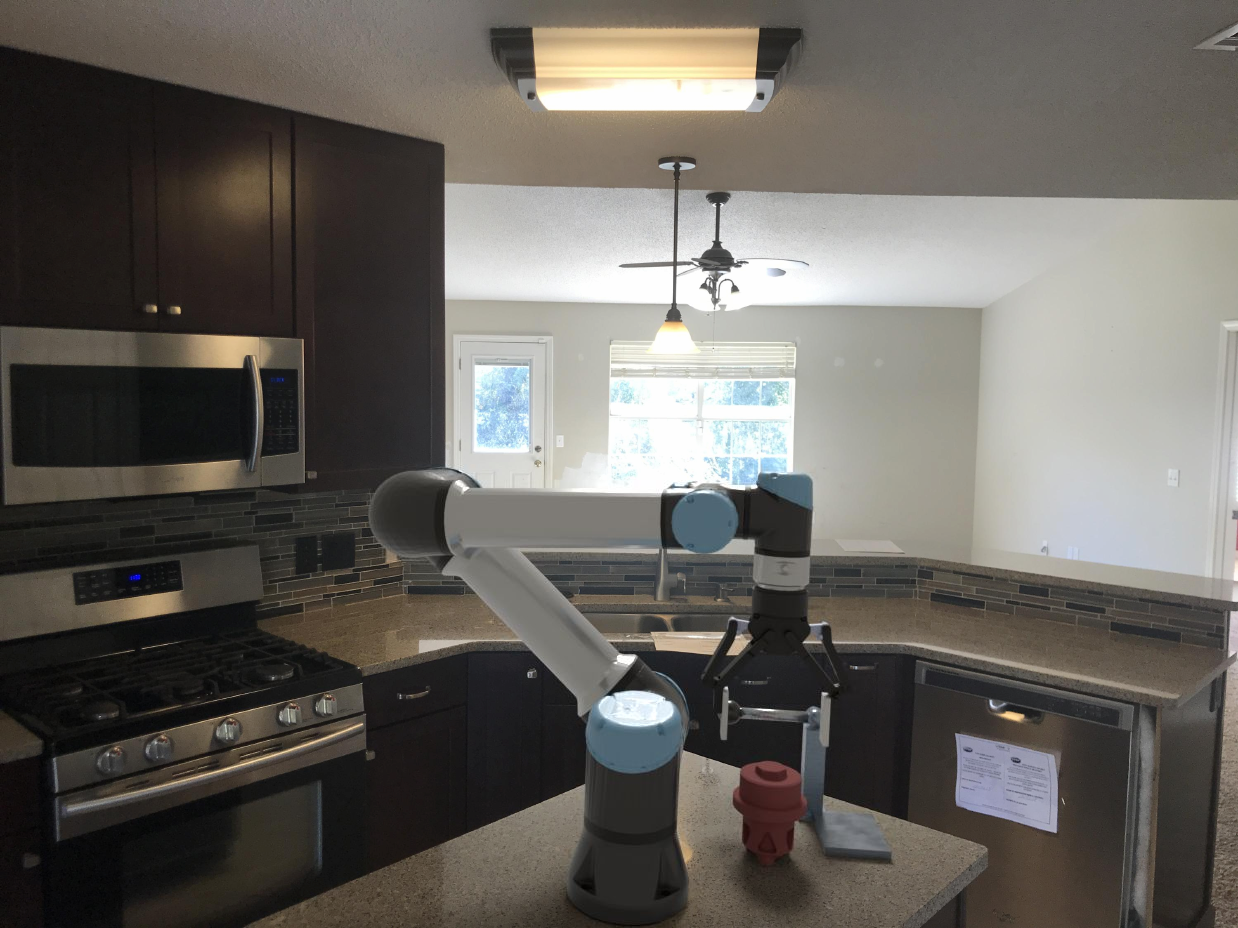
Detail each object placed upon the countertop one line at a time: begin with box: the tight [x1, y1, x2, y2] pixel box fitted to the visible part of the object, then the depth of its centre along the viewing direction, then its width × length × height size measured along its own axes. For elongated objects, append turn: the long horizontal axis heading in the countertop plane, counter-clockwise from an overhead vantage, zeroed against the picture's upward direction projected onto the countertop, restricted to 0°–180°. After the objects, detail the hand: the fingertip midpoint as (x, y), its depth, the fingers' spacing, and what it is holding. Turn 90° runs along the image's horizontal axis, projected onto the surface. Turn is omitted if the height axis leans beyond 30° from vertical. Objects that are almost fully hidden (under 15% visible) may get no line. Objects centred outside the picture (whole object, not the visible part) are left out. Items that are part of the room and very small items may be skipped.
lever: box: [717, 699, 821, 729], centre depth 128 cm, size 16×4×4 cm, turn 86°
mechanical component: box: [732, 760, 807, 867], centre depth 115 cm, size 12×10×10 cm
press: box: [798, 722, 893, 861], centre depth 123 cm, size 11×15×14 cm
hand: (773, 739), depth 115 cm, fingers open, 13 cm apart
